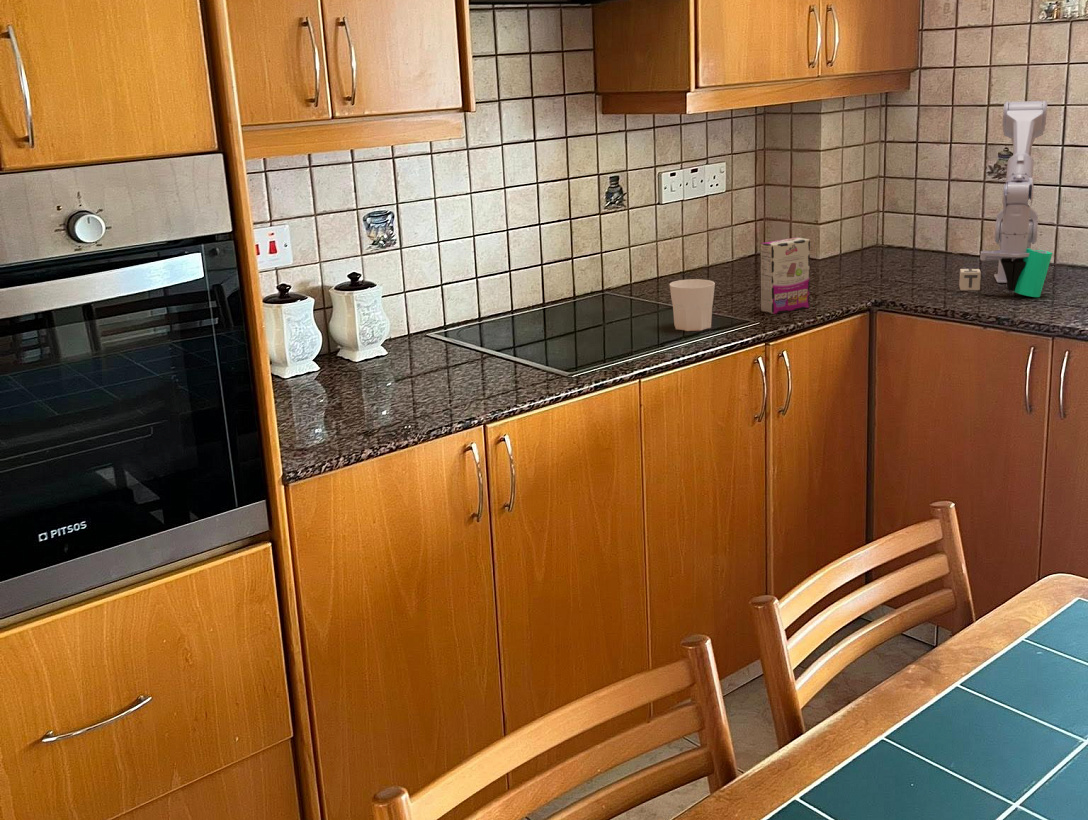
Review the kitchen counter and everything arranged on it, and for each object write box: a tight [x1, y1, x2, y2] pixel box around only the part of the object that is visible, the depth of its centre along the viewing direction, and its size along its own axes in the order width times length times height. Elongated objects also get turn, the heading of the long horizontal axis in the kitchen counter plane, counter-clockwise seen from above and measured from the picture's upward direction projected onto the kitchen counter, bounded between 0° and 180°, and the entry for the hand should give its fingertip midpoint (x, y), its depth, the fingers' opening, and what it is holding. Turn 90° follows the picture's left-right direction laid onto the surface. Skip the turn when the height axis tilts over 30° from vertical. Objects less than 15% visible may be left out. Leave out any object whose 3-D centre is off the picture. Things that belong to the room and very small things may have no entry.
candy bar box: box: [759, 236, 811, 315], centre depth 273 cm, size 11×5×16 cm, turn 117°
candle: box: [1013, 244, 1053, 298], centre depth 274 cm, size 6×6×12 cm
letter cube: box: [958, 268, 982, 291], centre depth 288 cm, size 5×4×5 cm
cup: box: [669, 278, 716, 332], centre depth 261 cm, size 10×10×10 cm
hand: (1010, 290), depth 277 cm, fingers closed
